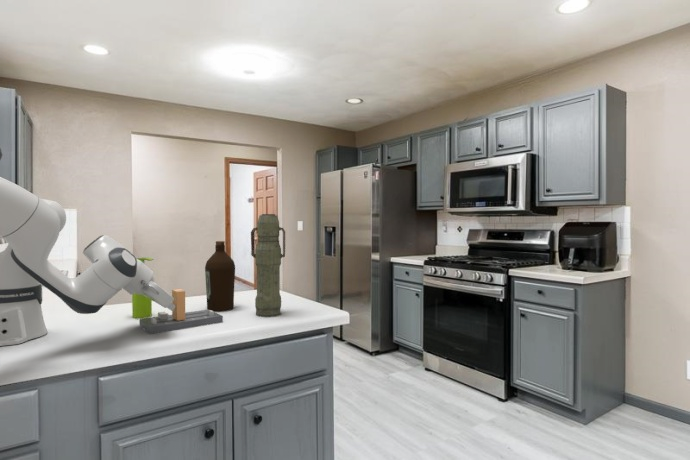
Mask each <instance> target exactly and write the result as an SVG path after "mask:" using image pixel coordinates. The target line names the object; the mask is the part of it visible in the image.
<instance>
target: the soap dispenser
mask: <svg viewBox="0 0 690 460" xmlns="http://www.w3.org/2000/svg"><path fill="white" fill-rule="evenodd" d="M135 258H136V259H138V260H140V261H142V262H143V263H144V264H145V261H153V260H154V258H152V257H135ZM131 297H132V298H131V300H132V301H131V302H132V304H131V305H132V307H131V308H132V318H134V319H143V318H150V317H153V311H152V306H153V305H152V302H153V300H151V299H149V298H147V297H146V296H144V295H142V294H140V295H138V294H137V293H135V294H132V295H131Z"/></svg>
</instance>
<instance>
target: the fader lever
mask: <svg viewBox="0 0 690 460" xmlns="http://www.w3.org/2000/svg"><path fill="white" fill-rule="evenodd" d="M171 296H172V297H173V298H174V301H173V302H172V303H173V304H174V305H175V306H176V307H175V309H174V310H173V311H172V312H171V313H172V314H171V315H172V318H174V319H175V320H177V321H178V320H185V313H186V290H184V289H182V288H176V289H171Z"/></svg>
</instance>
